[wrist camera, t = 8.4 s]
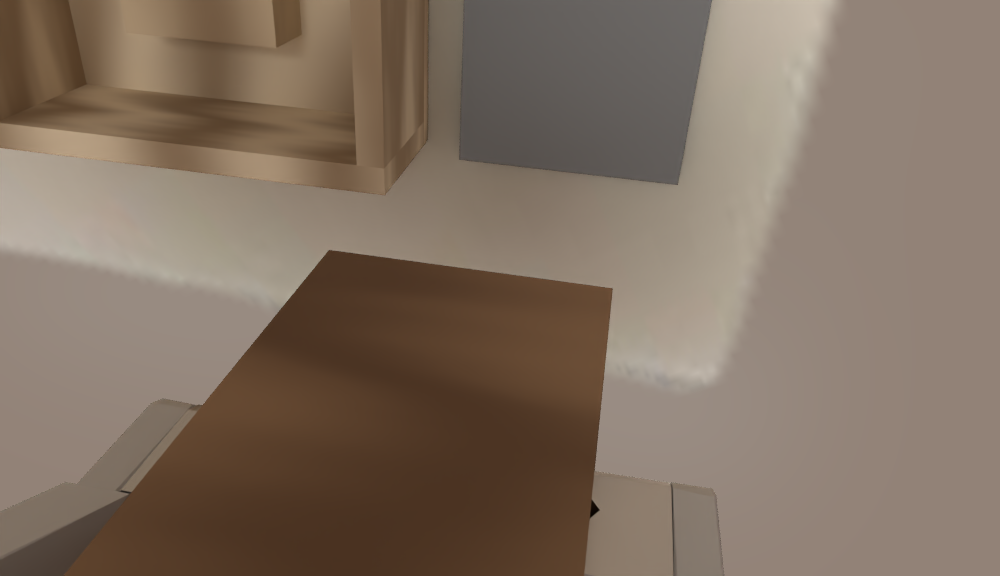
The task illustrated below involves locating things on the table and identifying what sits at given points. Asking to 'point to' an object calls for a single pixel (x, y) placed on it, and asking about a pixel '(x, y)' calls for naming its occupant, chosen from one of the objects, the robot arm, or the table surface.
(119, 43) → the crate
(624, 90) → the felt coaster
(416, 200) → the table surface
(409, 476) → the walnut block
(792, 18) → the table surface
